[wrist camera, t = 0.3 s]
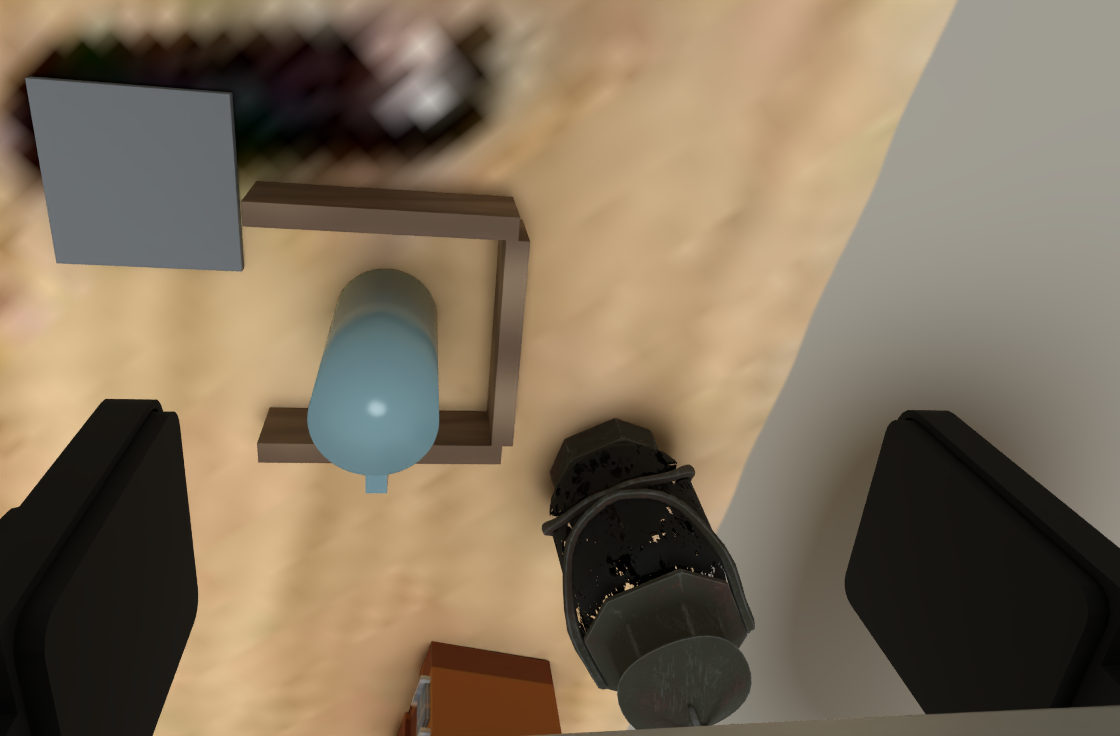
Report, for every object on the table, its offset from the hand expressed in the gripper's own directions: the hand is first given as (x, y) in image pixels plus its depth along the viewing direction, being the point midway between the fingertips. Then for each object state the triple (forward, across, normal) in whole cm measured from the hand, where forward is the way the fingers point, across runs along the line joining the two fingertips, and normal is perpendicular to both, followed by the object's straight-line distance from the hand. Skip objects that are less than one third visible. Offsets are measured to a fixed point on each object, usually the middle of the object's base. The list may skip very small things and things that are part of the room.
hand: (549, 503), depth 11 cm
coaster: (+35, +16, +4) cm, 39 cm away
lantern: (+36, -10, +21) cm, 43 cm away
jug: (+36, +4, +12) cm, 38 cm away
